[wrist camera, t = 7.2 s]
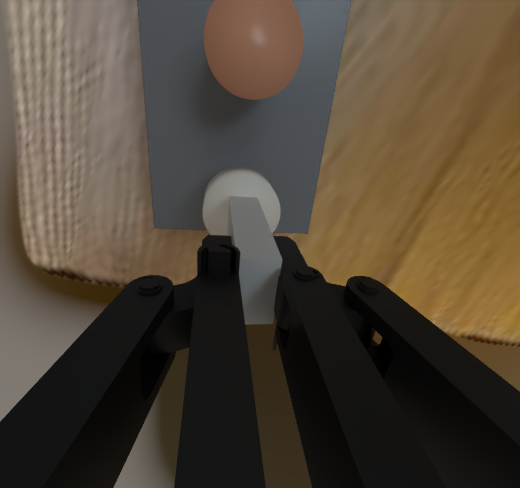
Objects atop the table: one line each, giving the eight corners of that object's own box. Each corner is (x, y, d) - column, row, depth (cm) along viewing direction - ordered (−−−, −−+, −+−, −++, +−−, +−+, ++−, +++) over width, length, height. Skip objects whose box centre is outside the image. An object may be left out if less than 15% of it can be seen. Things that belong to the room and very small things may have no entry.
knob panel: (348, -140, 18) (392, -220, 13) (293, 211, 28) (307, 233, 23) (143, -193, 16) (114, -305, 11) (165, 205, 26) (154, 228, 22)
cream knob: (265, 153, 22) (285, 177, 16) (260, 207, 24) (275, 249, 17) (207, 149, 21) (202, 172, 15) (206, 205, 23) (202, 247, 17)
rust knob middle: (278, 26, 19) (311, -13, 12) (271, 101, 20) (295, 104, 14) (209, 15, 18) (204, -32, 11) (208, 95, 20) (203, 94, 13)
